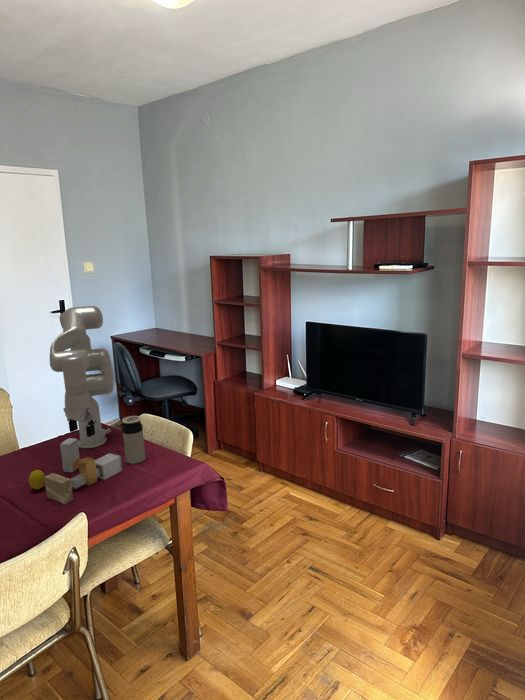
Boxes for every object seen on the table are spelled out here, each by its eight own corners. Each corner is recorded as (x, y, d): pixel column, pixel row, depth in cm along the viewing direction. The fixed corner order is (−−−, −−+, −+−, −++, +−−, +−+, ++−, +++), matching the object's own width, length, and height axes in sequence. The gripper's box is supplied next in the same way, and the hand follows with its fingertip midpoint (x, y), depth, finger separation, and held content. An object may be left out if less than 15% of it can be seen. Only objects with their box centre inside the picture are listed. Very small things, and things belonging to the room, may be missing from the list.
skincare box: (73, 472, 197) (69, 444, 194) (63, 472, 197) (59, 444, 195) (81, 465, 202) (77, 438, 200) (72, 465, 203) (68, 437, 200)
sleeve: (111, 466, 200) (110, 452, 199) (122, 470, 197) (121, 456, 196) (93, 476, 193) (91, 461, 192) (104, 479, 190) (102, 465, 188)
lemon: (37, 494, 181) (34, 474, 179) (27, 491, 183) (24, 471, 182) (50, 487, 185) (47, 468, 184) (40, 484, 188) (37, 465, 186)
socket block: (55, 492, 181) (52, 472, 180) (73, 499, 176) (70, 479, 174) (47, 497, 179) (44, 476, 177) (64, 504, 173) (61, 483, 171)
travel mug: (148, 456, 209) (144, 415, 204) (140, 464, 201) (136, 423, 197) (130, 455, 210) (126, 415, 206) (122, 463, 202) (117, 422, 198)
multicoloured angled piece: (110, 467, 199) (108, 446, 197) (118, 469, 196) (115, 448, 194) (69, 488, 183) (66, 466, 181) (77, 491, 181) (74, 469, 179)
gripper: (52, 388, 180) (58, 432, 184) (83, 395, 171) (89, 441, 175) (70, 382, 187) (76, 425, 191) (101, 389, 177) (106, 433, 181)
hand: (82, 433), depth 183 cm, fingers open, 9 cm apart
